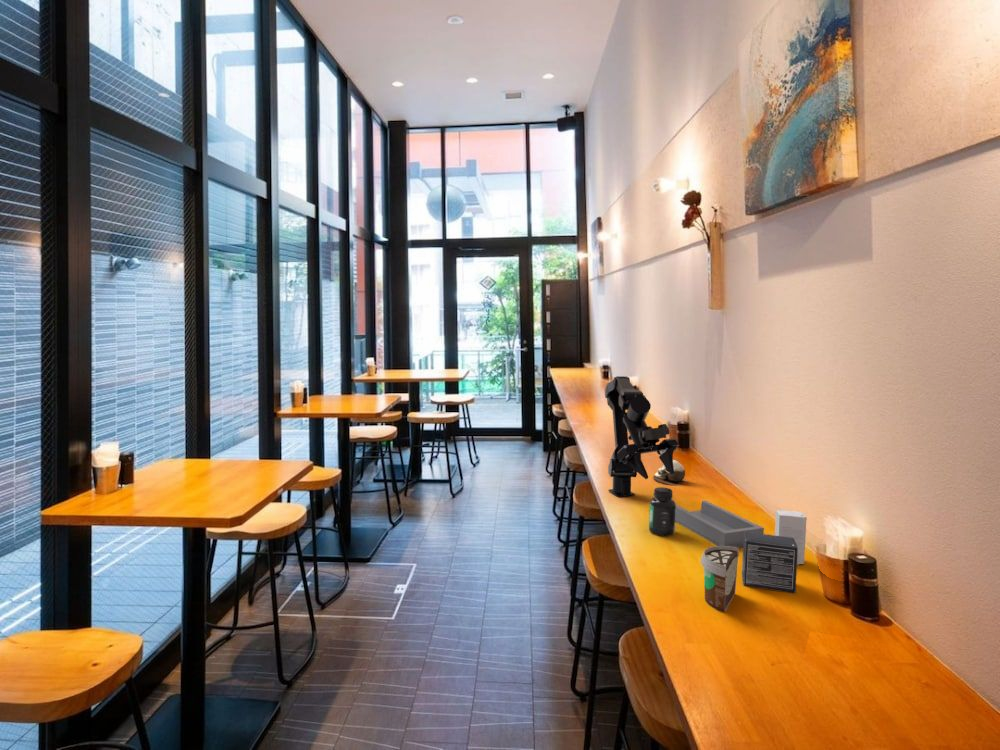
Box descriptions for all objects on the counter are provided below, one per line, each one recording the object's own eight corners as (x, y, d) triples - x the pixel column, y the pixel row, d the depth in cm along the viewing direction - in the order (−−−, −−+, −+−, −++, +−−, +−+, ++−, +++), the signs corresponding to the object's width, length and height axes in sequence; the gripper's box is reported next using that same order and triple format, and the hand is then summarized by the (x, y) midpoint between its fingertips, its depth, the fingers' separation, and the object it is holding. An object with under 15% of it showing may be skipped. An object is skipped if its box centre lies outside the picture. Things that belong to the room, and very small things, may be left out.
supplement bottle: (647, 534, 154) (649, 491, 153) (650, 525, 160) (651, 484, 159) (673, 538, 152) (675, 494, 150) (675, 529, 158) (677, 487, 157)
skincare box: (799, 558, 140) (802, 511, 139) (804, 565, 136) (807, 517, 135) (772, 555, 141) (775, 509, 140) (776, 562, 137) (779, 515, 136)
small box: (791, 581, 128) (794, 536, 127) (796, 594, 122) (799, 547, 121) (740, 573, 131) (743, 530, 130) (743, 586, 125) (745, 540, 124)
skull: (645, 478, 204) (655, 454, 208) (656, 492, 210) (665, 468, 214) (676, 484, 196) (685, 459, 200) (686, 499, 202) (695, 474, 206)
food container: (707, 583, 126) (709, 540, 125) (736, 591, 123) (739, 546, 122) (691, 606, 116) (693, 559, 115) (722, 615, 113) (725, 567, 112)
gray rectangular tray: (666, 516, 168) (666, 503, 168) (702, 511, 172) (703, 498, 172) (724, 549, 145) (725, 534, 144) (765, 543, 149) (766, 528, 148)
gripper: (625, 418, 159) (648, 468, 151) (676, 411, 167) (701, 459, 159) (607, 437, 168) (628, 485, 160) (657, 430, 175) (679, 476, 168)
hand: (660, 476), depth 161 cm, fingers open, 9 cm apart
